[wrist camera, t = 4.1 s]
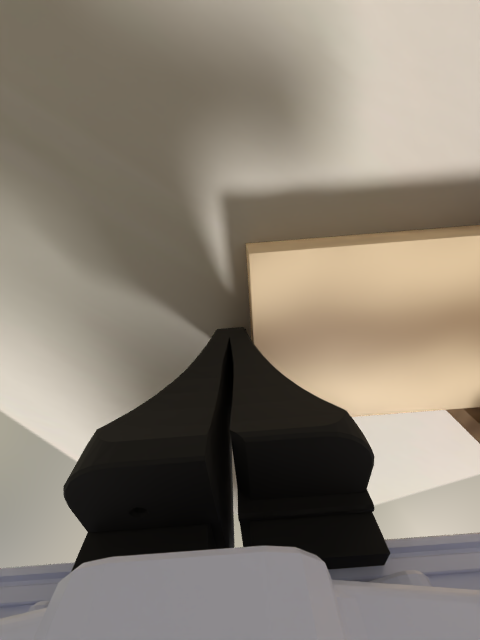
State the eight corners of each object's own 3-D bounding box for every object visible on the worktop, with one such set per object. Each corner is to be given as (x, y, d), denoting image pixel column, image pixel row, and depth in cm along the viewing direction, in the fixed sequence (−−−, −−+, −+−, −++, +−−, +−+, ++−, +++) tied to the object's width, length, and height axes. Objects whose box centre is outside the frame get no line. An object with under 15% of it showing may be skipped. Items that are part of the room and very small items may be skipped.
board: (471, 372, 14) (515, 404, 12) (254, 388, 14) (258, 424, 12) (544, 217, 10) (629, 223, 8) (245, 241, 10) (249, 253, 8)
